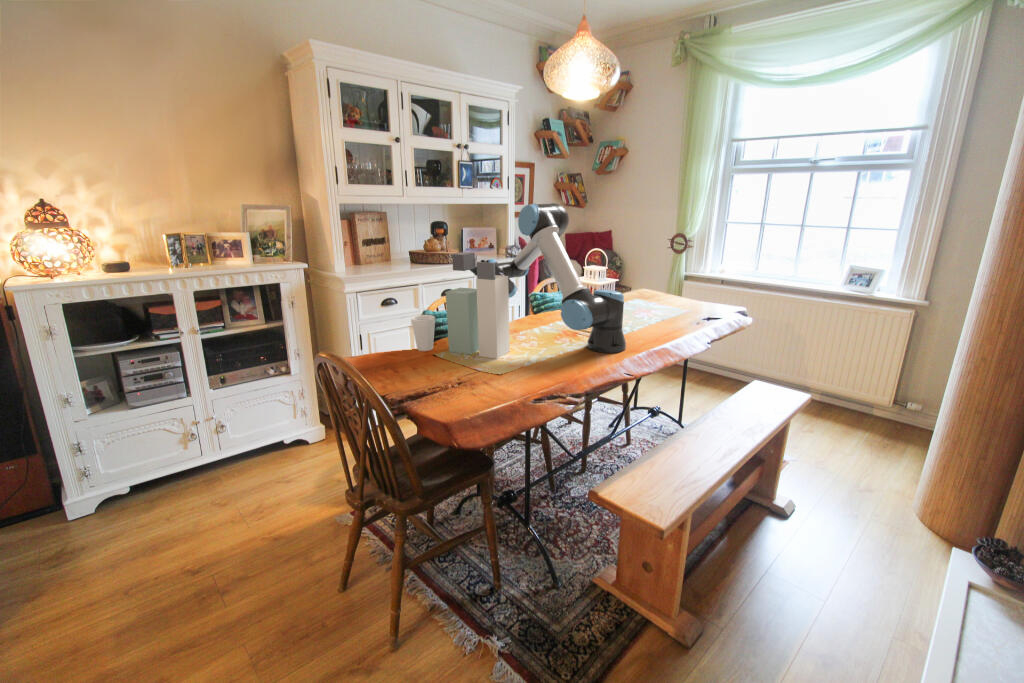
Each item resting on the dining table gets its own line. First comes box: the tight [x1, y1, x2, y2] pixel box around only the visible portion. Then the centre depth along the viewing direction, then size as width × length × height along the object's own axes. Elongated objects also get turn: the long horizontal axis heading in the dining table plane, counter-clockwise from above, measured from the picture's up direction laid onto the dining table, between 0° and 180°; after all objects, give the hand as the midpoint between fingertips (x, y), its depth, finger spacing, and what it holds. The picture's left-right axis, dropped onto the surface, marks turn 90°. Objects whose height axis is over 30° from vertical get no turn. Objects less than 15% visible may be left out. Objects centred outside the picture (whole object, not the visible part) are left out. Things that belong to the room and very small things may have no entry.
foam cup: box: [410, 314, 436, 352], centre depth 190 cm, size 10×9×13 cm
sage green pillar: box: [445, 287, 479, 355], centre depth 186 cm, size 10×10×24 cm
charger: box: [451, 251, 486, 272], centre depth 185 cm, size 5×18×6 cm, turn 153°
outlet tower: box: [475, 262, 511, 360], centre depth 179 cm, size 8×10×36 cm
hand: (470, 257), depth 184 cm, fingers closed on charger, 5 cm apart
